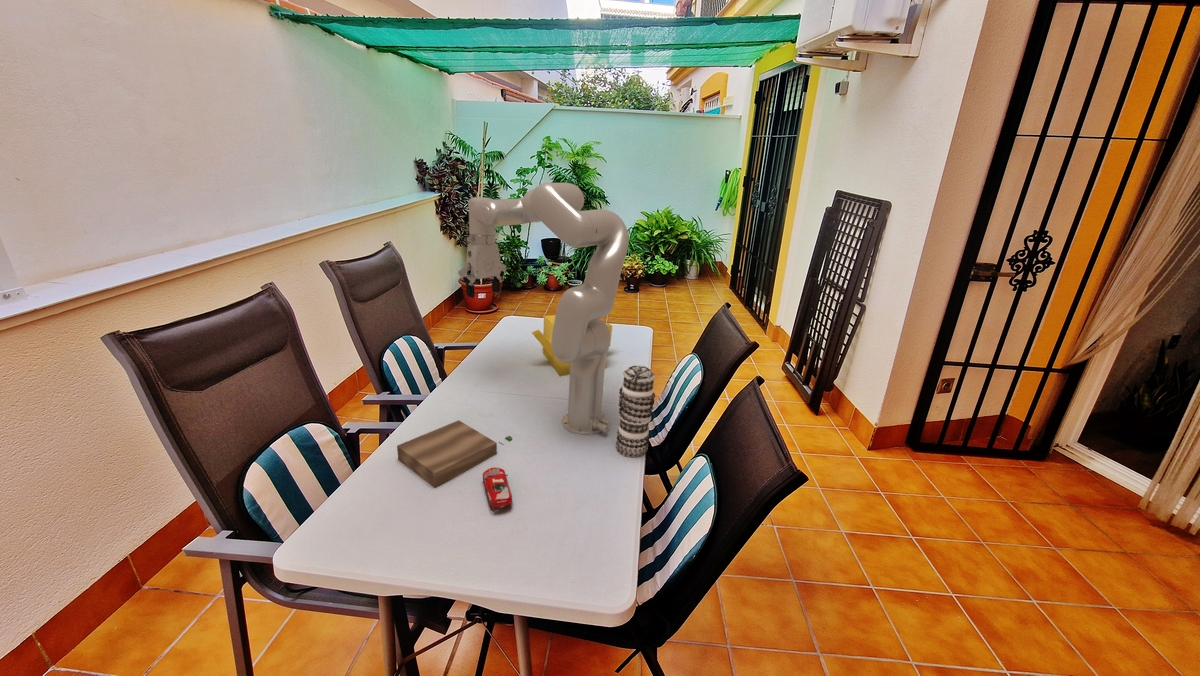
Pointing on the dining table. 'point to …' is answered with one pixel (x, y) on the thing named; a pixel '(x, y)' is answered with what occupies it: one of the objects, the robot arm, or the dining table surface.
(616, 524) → the dining table surface
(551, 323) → the square teapot
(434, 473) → the block
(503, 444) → the puzzle cube
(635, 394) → the decorative candle
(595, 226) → the robot arm
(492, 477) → the race car
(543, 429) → the dining table surface
